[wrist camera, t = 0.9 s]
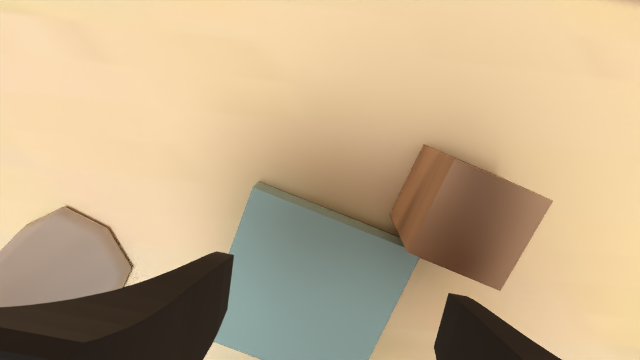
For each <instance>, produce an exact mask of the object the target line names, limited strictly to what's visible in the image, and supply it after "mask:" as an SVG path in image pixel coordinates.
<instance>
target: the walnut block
mask: <svg viewBox="0 0 640 360" xmlns="http://www.w3.org/2000/svg"><path fill="white" fill-rule="evenodd" d="M552 202H553V200H550V199H548V198H546V197H544V196H541V195H539V194H537V193H535V192H532V191H530V190H528V189H526V188H523V187H521V186H519V185H517V184H514V183H512V182H510V181H508V180H505V179H503V178H501V177H499V176H496V175H494V174H492V173H489V172H487V171H485V170H482V169H480V168H478V167H475V166H473V165H471V164H468V163H466V162H464V161H461V160H459V159H456V158H454V157H452V156H449V155H447V154H445V153H442V152H440V151H438V150H435V149H433V148H431V147H428V146H426V145H423V147H422V149H421V151H420V153H419V155H418V157H417V159H416V161H415V163H414V165H413V168H412V170H411V172H410V174H409V176H408V178H407V180H406V182H405V184H404V186H403V188H402V190H401V192H400V194H399V196H398V199H397V201H396V203H395V205H394V207H393V209H392V211H391V213H390V217H391V219H392V221H393V223H394V225H395V227H396V229H397V231H398V234H399V236H400V238H401V240H402V242H403V244H404V246H405V248H406V251H407V252H408V253H410V254H412V255H415V256H417V257H420V258H422V259H425V260H427V261H429V262H432V263H434V264H437V265H439V266H441V267H444V268H446V269H449V270H451V271H454V272H456V273H458V274H461V275H463V276H466V277H468V278H470V279H473V280H475V281H478V282H480V283H483V284H485V285H487V286H490V287H492V288H495V289H497V290H499V291H500V290H501V288H502V287H503V285H504V283H505V282H506V280H507V278H508V277H509V275H510V273H511V271H512V270H513V268H514V266H515V265H516V263H517V261H518V260H519V258H520V256H521V254H522V253H523V251H524V249H525V248H526V246H527V244H528V243H529V241H530V239H531V237H532V236H533V234H534V232H535V231H536V229H537V227H538V226H539V224H540V222H541V221H542V219H543V217H544V215H545V214H546V212H547V210H548V209H549V207H550V205H551V204H552Z"/></svg>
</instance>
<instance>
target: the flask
mask: <svg viewBox="0 0 640 360" xmlns="http://www.w3.org/2000/svg"><path fill="white" fill-rule="evenodd" d="M130 270H131V266H130V265H129V263H128V261H127V260H126V258H125V256H124V255H123V253H122V251H121V250H120V248H119V246H118V245H117V243H116V241H115V240H114V238H113V236H112V235H111V233H110V231H109V230H108V228H106V227H104V226H102V225H100V224H98V223H96V222H94V221H92V220H90V219H88V218H86V217H84V216H82V215H80V214H78V213H76V212H74V211H73V210H71V209H69V208H67V207H65V206H64V207H62V208H60V209H58V210H56V211H54V212H52V213H50V214H48V215H46V216H44V217H42V218H39V219H37V220H35V221H33V222H31V223H29V224H27V225H26V226H25V227H24V228H23V229H22V230H21V231H20V232H18V233H17V234H16V235H15V236H14V238H13V239H12V240H11V241H10V242H9V243H8V244H7V245H6V246H5V247H4V248H3V249H2V250H1V251H0V307H11V306H23V305H33V304H41V303H49V302H56V301H63V300H69V299H75V298H80V297H85V296H89V295H94V294H99V293H104V292H108V291H112V290H116V289H120V288H123V286H124V284H125V281H126V279H127V277H128V275H129V273H130Z"/></svg>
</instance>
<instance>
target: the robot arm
mask: <svg viewBox="0 0 640 360" xmlns="http://www.w3.org/2000/svg"><path fill="white" fill-rule="evenodd" d="M233 261H234V255H232V254H227V253H221V252H214V253H211V254H208V255H206V256H204V257H201V258H199V259H197V260H195V261H193V262H190V263H188V264H186V265H184V266H181V267H179V268H177V269H174V270H172V271H169V272H167V273H164V274H162V275H159V276H156V277H154V278H151V279H149V280H146V281H143V282H140V283H137V284H134V285H130V286H127V287H123V288H120V289H116V290H112V291H108V292H104V293H99V294H94V295H89V296H85V297H80V298H75V299H69V300H63V301H56V302H49V303H41V304H33V305H23V306H11V307H0V360H203V359H204V357H205V355H206V354H207V352H208V350H209V348H210V347H211V345H212V343H213V341H214V339H215V338H216V336H217V334H218V331H219V329H220V327H221V324H222V322H223V319H224V317H225V314H226V312H227V309H228V301H229V293H230V285H231V277H232V269H233ZM434 349H435V354H436V359H437V360H561V359H560V358H558V357H557V356H555V355H553V354H552V353H550V352H549V351H547V350H546V349H544V348H543V347H541V346H540V345H538V344H536V343H535V342H533V341H532V340H531V339H529V338H528V337H526V336H525V335H523V334H522V333H520V332H519V331H518V330H516V329H515V328H513V327H512V326H510V325H509V324H508V323H506V322H505V321H503V320H502V319H501V318H499V317H498V316H496V315H495V314H494V313H492V312H491V311H489V310H488V309H487V308H485V307H484V306H482V305H481V304H479V303H478V302H476V301H475V300H473V299H471V298H469V297H467V296H462V295H456V294H451V293H449V294H448V297H447V301H446V305H445V308H444V312H443V316H442V319H441V323H440V327H439V330H438V334H437V338H436V341H435V345H434Z"/></svg>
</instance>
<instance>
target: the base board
mask: <svg viewBox="0 0 640 360" xmlns="http://www.w3.org/2000/svg"><path fill="white" fill-rule="evenodd" d="M229 254H232V255H234V261H233V269H232V277H231V285H230V293H229V301H228V309H227V312H226V314H225V317H224V319H223V322H222V324H221V327H220V329H219V331H218V334H217V336H216V338H215V339H214V341H213V342H216V343H219V344H221V345H224V346H226V347H229V348H232V349H234V350H237V351H240V352H242V353H245V354H248V355H250V356H253V357H256V358H258V359H261V360H369V358H370V356H371V354H372V352H373V350H374V348H375V346H376V344H377V342H378V340H379V338H380V336H381V334H382V332H383V330H384V328H385V326H386V324H387V322H388V320H389V318H390V316H391V314H392V312H393V310H394V308H395V306H396V304H397V302H398V300H399V298H400V296H401V294H402V292H403V290H404V288H405V286H406V284H407V282H408V280H409V278H410V276H411V274H412V272H413V270H414V268H415V266H416V264H417V262H418V260H419V258H420V257H417V256H415V255H412V254H410V253H408V252H407V251H406V248H405V246H404V244H403V242H402V240H401V238H400V237H397V236H395V235H392V234H390V233H387V232H385V231H382V230H380V229H377V228H375V227H372V226H370V225H367V224H365V223H362V222H360V221H357V220H355V219H352V218H349V217H347V216H344V215H342V214H339V213H337V212H334V211H332V210H329V209H327V208H324V207H322V206H319V205H317V204H314V203H312V202H309V201H307V200H304V199H302V198H299V197H297V196H294V195H292V194H289V193H286V192H284V191H281V190H279V189H276V188H274V187H271V186H269V185H266V184H264V183H261V182H258V183H257V184H256V185H255V186H254V187H253V189H252V191H251V194H250V197H249V200H248V202H247V205H246V208H245V211H244V213H243V216H242V219H241V222H240V224H239V227H238V230H237V233H236V235H235V238H234V241H233V244H232V246H231V249H230V252H229Z"/></svg>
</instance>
